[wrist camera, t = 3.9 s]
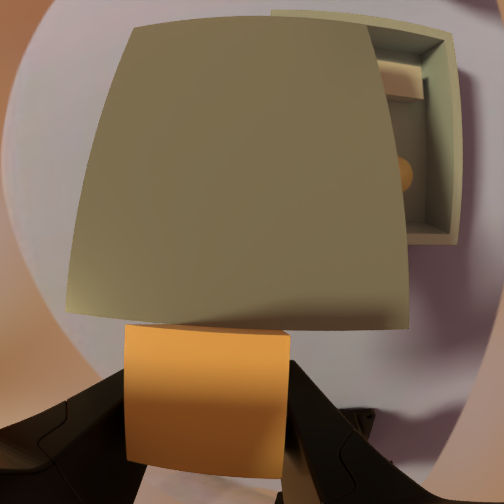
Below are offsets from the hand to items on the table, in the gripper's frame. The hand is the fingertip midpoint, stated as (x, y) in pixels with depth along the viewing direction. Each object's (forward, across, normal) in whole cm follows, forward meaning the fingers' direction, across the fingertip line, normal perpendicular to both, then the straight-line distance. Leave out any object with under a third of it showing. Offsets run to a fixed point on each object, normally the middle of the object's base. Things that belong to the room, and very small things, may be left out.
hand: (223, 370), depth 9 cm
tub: (+12, -6, -8) cm, 16 cm away
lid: (+4, 0, -5) cm, 6 cm away
